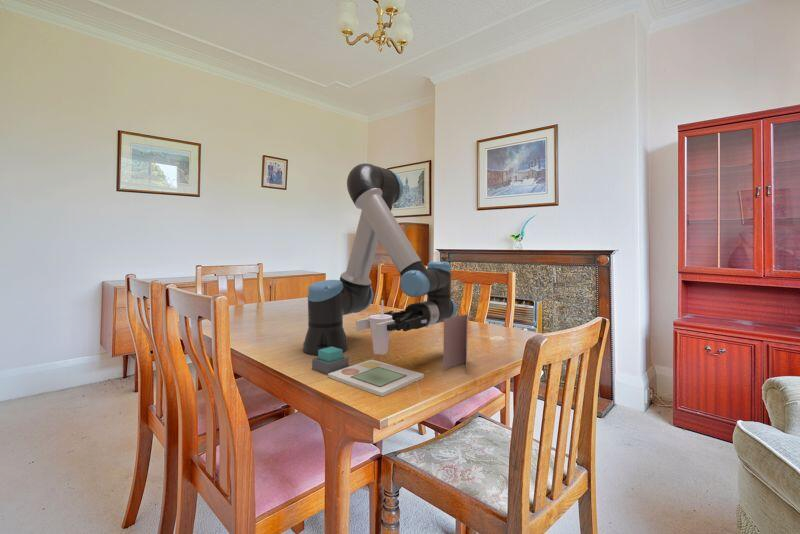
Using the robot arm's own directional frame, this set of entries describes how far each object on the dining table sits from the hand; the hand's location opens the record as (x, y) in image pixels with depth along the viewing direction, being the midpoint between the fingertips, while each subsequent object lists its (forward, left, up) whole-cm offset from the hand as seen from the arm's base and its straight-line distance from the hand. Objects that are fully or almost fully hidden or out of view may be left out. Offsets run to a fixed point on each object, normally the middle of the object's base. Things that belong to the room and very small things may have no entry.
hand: (366, 327), depth 95 cm
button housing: (-17, +2, -15) cm, 23 cm away
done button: (-17, +2, -12) cm, 22 cm away
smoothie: (0, +5, -8) cm, 9 cm away
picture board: (-2, +6, -15) cm, 16 cm away
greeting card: (+12, +28, -15) cm, 34 cm away
